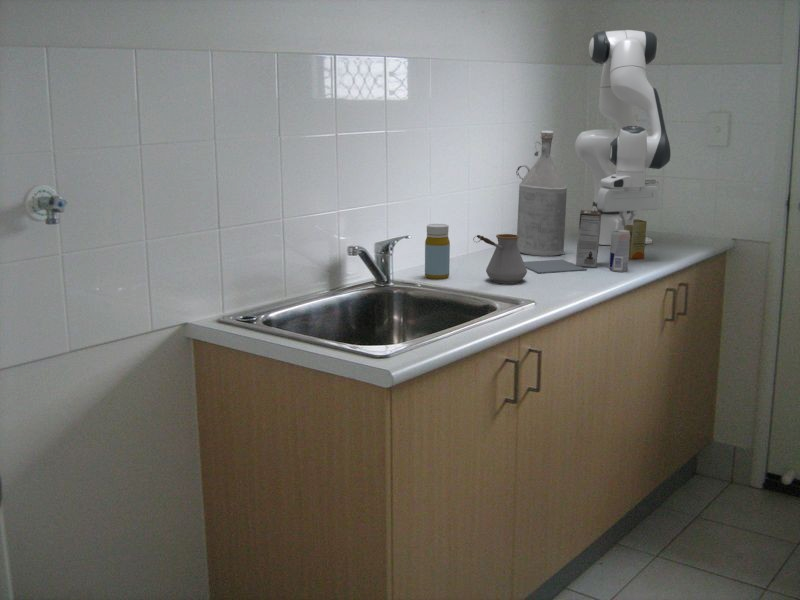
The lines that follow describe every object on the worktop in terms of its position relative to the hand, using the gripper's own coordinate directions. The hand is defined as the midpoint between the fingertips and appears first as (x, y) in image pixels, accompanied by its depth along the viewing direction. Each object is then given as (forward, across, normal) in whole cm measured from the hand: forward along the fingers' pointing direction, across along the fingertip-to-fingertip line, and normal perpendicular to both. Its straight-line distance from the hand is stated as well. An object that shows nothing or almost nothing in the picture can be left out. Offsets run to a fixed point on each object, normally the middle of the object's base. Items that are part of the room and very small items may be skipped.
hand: (627, 225), depth 274 cm
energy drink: (+12, +8, +10) cm, 18 cm away
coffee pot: (+12, +51, +17) cm, 55 cm away
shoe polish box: (+12, -6, -6) cm, 15 cm away
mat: (+12, +26, 0) cm, 28 cm away
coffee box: (+12, +14, 0) cm, 18 cm away
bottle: (+12, +64, +4) cm, 65 cm away
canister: (+12, +19, -23) cm, 32 cm away
